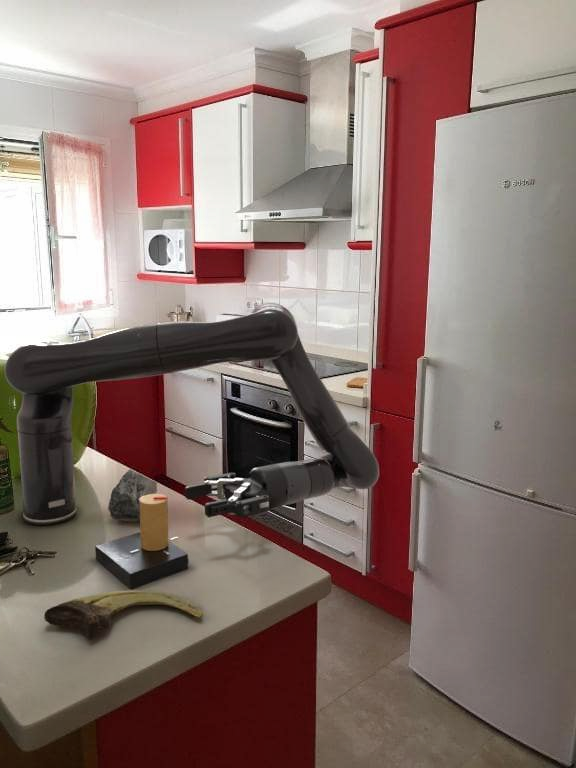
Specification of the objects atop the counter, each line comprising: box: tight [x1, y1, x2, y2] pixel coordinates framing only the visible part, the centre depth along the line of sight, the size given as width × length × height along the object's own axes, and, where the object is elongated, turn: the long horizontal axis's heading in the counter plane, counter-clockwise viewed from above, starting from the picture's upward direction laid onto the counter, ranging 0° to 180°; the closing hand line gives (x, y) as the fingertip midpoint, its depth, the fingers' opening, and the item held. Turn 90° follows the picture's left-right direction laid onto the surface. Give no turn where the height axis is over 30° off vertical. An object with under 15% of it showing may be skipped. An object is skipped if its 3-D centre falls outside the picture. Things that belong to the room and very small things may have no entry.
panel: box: [94, 531, 189, 590], centre depth 102 cm, size 12×12×3 cm
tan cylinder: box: [139, 493, 170, 551], centre depth 102 cm, size 4×4×8 cm
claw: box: [43, 589, 204, 640], centre depth 87 cm, size 20×10×3 cm, turn 113°
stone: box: [107, 469, 158, 522], centre depth 119 cm, size 10×10×10 cm
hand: (195, 501), depth 105 cm, fingers open, 8 cm apart
